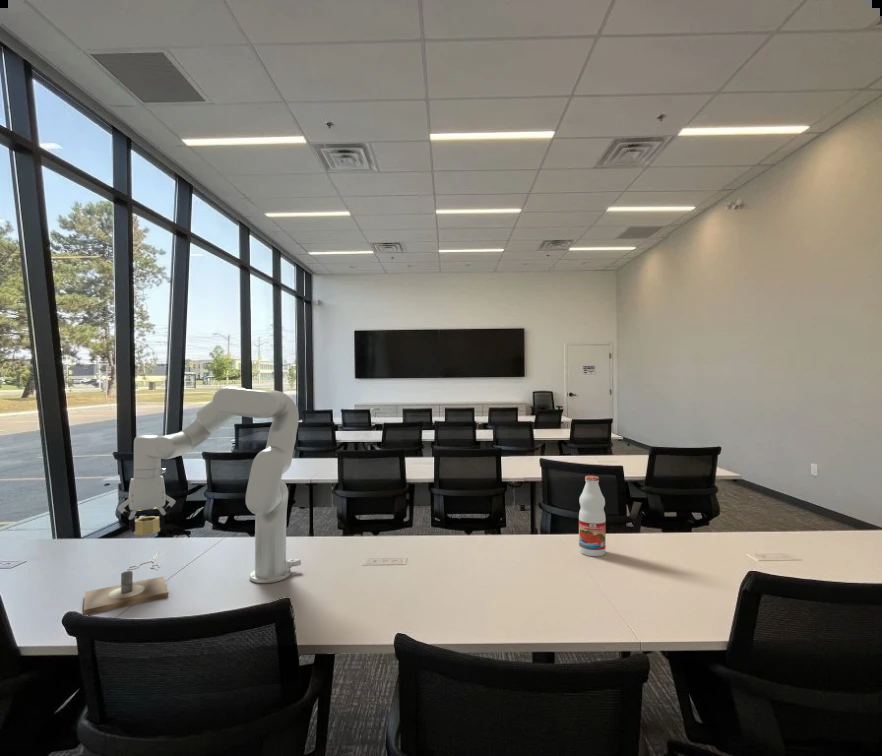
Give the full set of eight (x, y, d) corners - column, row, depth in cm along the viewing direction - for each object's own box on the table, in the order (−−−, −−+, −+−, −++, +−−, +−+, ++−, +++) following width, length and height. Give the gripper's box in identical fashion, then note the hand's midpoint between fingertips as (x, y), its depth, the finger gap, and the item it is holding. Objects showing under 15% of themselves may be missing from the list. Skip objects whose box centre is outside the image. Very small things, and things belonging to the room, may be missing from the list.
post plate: (163, 581, 155) (163, 558, 155) (168, 597, 143) (168, 573, 143) (85, 596, 143) (85, 572, 143) (83, 615, 132) (83, 589, 132)
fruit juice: (606, 550, 184) (605, 475, 184) (605, 558, 175) (605, 479, 175) (579, 547, 187) (579, 473, 187) (577, 555, 178) (577, 478, 178)
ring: (158, 527, 163) (158, 515, 163) (160, 532, 157) (160, 519, 157) (133, 530, 159) (133, 518, 159) (134, 536, 153) (134, 523, 153)
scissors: (123, 571, 162) (149, 550, 182) (123, 573, 162) (149, 552, 182) (157, 569, 164) (179, 548, 184) (157, 571, 164) (179, 551, 184)
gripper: (176, 469, 166) (176, 521, 166) (114, 474, 156) (114, 530, 156) (179, 472, 160) (179, 527, 160) (115, 478, 150) (114, 536, 150)
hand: (147, 528), depth 158 cm, fingers closed on ring, 7 cm apart
